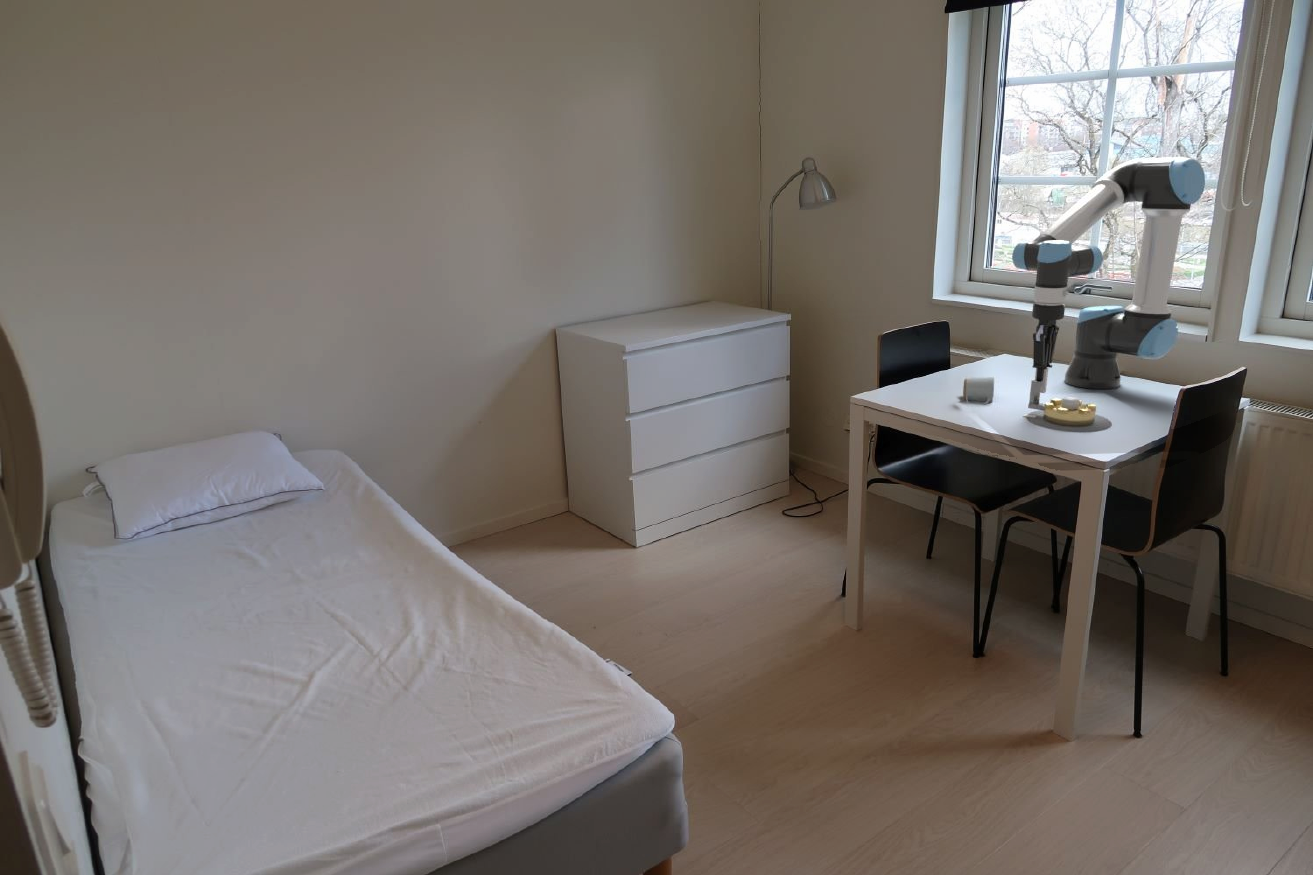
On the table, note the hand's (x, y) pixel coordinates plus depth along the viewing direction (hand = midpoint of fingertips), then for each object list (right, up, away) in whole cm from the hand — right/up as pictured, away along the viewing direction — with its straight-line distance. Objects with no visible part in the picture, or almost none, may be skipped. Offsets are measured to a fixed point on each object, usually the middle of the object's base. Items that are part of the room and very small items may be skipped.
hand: (1039, 391), depth 231 cm
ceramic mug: (-10, -3, +15) cm, 19 cm away
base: (+5, -9, -5) cm, 12 cm away
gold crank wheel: (+3, -7, -5) cm, 9 cm away
